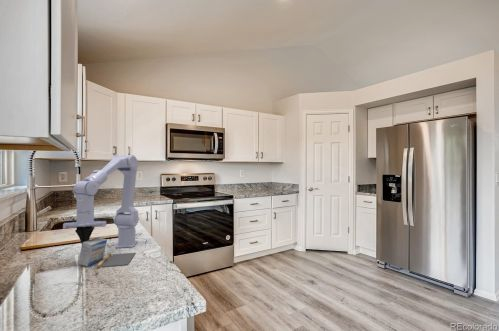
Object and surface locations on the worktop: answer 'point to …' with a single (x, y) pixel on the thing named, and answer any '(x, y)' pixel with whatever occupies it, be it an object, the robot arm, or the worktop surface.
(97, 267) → the oak strip
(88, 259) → the medicine box
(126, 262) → the rubber mat
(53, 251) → the worktop surface
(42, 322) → the worktop surface
